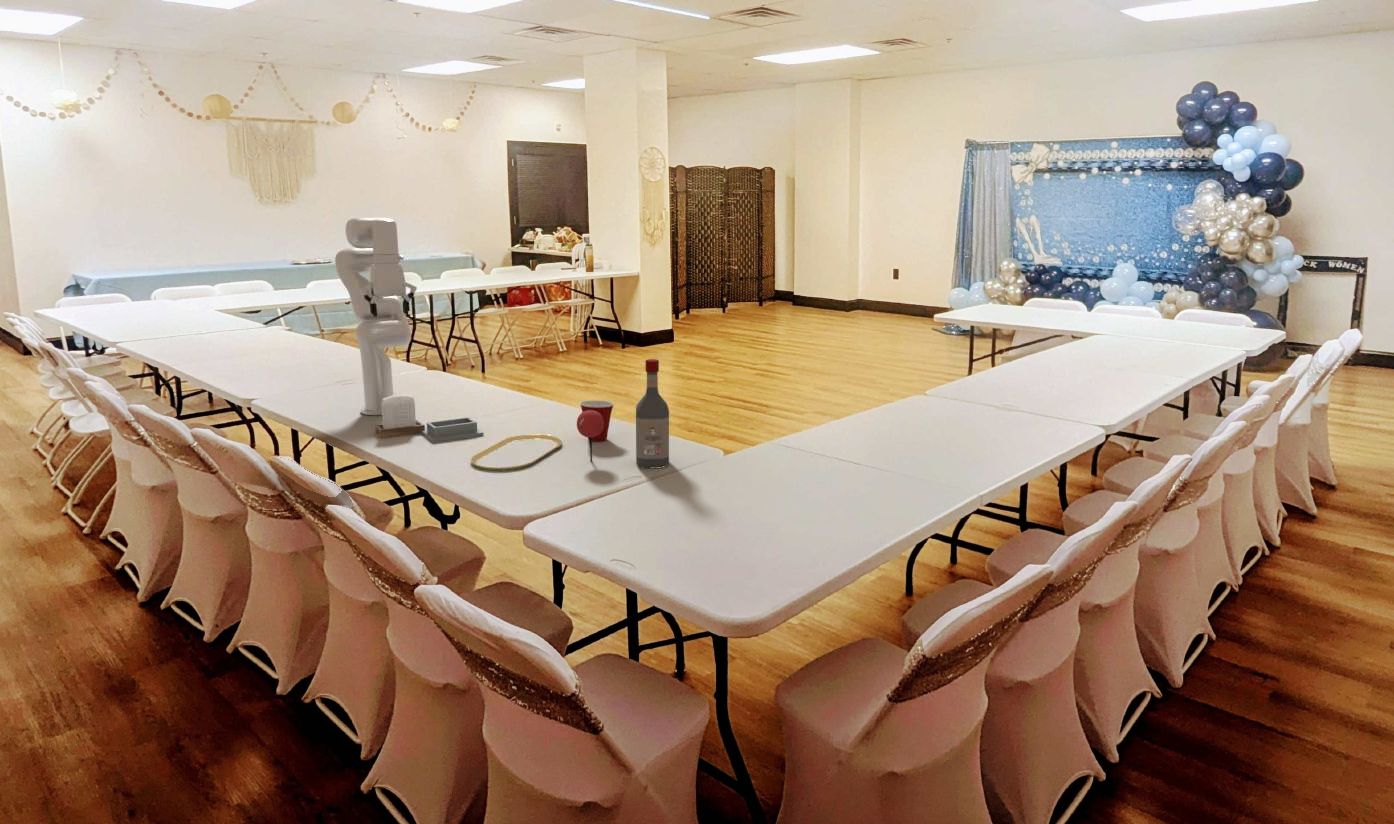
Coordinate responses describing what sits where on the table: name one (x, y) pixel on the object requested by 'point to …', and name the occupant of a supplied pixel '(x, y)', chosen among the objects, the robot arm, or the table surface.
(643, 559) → the table surface
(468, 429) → the docking base
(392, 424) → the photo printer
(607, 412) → the plastic cup
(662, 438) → the liquor
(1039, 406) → the table surface
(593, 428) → the lollipop
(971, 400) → the table surface
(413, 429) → the wooden picture frame
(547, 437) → the gold oval ring
